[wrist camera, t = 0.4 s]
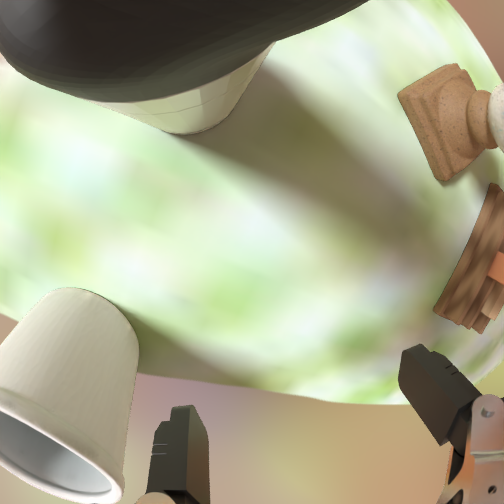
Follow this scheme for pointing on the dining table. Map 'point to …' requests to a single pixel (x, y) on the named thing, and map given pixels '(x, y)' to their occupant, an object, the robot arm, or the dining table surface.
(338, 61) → the dining table surface
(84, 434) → the utensil holder
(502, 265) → the slat
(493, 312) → the offcut block
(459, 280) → the rack
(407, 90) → the candle holder
